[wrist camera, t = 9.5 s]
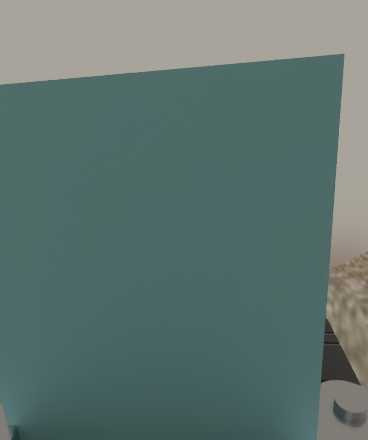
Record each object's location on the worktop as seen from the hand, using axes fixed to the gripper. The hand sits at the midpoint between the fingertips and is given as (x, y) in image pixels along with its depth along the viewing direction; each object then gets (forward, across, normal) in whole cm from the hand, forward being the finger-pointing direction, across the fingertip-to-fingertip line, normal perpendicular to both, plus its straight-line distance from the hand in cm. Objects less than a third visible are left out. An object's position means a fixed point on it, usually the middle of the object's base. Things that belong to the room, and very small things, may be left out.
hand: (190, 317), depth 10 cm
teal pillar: (-3, 0, +8) cm, 8 cm away
